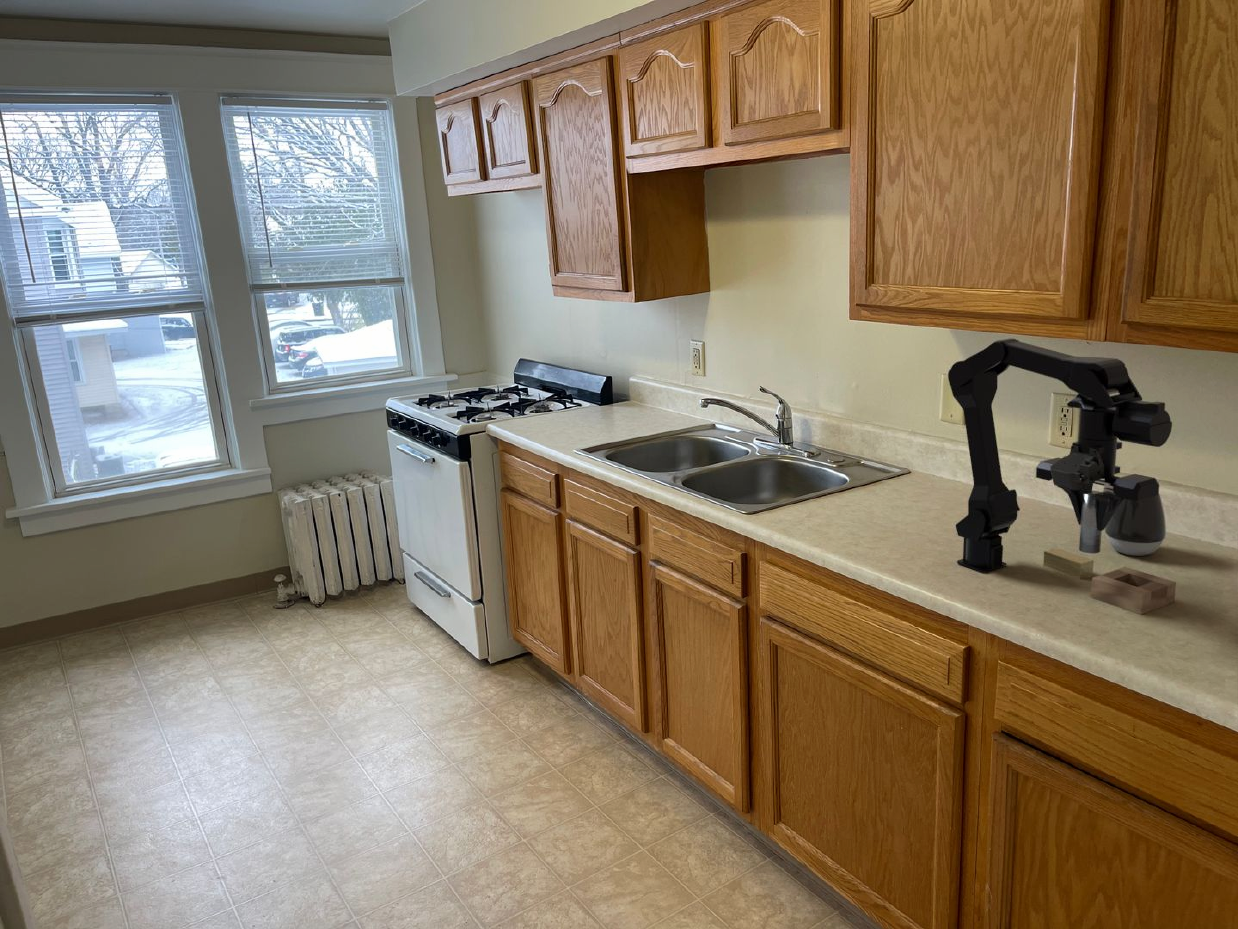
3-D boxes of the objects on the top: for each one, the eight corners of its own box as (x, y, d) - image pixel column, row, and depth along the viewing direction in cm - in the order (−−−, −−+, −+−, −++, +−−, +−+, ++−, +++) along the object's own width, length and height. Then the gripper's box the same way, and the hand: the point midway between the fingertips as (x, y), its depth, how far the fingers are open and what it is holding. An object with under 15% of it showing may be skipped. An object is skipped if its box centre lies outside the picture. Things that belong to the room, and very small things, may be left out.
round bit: (1074, 549, 155) (1078, 492, 152) (1087, 545, 156) (1091, 489, 154) (1091, 554, 152) (1095, 497, 150) (1104, 550, 153) (1108, 493, 151)
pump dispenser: (1099, 556, 176) (1106, 480, 172) (1106, 539, 184) (1112, 466, 180) (1161, 564, 170) (1169, 486, 166) (1165, 547, 178) (1173, 471, 175)
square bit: (1043, 567, 173) (1044, 551, 172) (1055, 563, 174) (1056, 547, 173) (1079, 580, 166) (1081, 563, 165) (1092, 576, 167) (1093, 560, 166)
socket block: (1090, 597, 158) (1092, 578, 157) (1123, 585, 162) (1125, 566, 161) (1141, 614, 150) (1142, 594, 149) (1174, 601, 154) (1176, 582, 153)
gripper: (1015, 434, 154) (1011, 523, 158) (1118, 454, 138) (1111, 552, 142) (1060, 425, 159) (1055, 511, 163) (1165, 443, 143) (1156, 538, 146)
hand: (1091, 527), depth 153 cm, fingers closed on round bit, 3 cm apart
